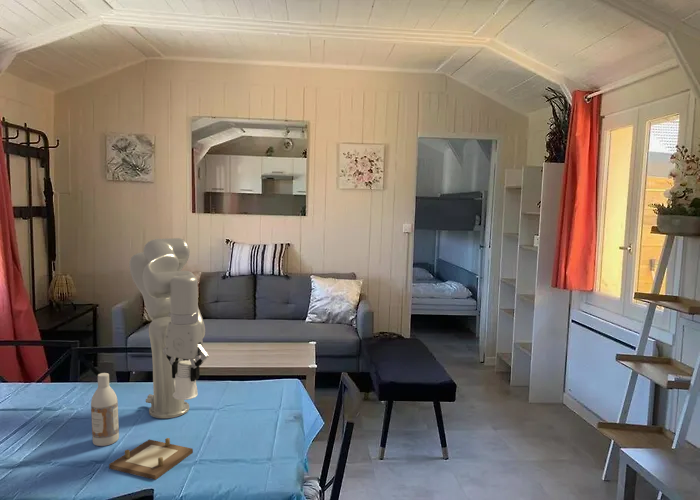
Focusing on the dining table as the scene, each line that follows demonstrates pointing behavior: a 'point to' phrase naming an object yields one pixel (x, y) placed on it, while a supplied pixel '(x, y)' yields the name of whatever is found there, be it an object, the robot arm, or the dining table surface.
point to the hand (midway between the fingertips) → (185, 377)
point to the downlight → (184, 382)
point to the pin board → (151, 459)
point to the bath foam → (104, 413)
